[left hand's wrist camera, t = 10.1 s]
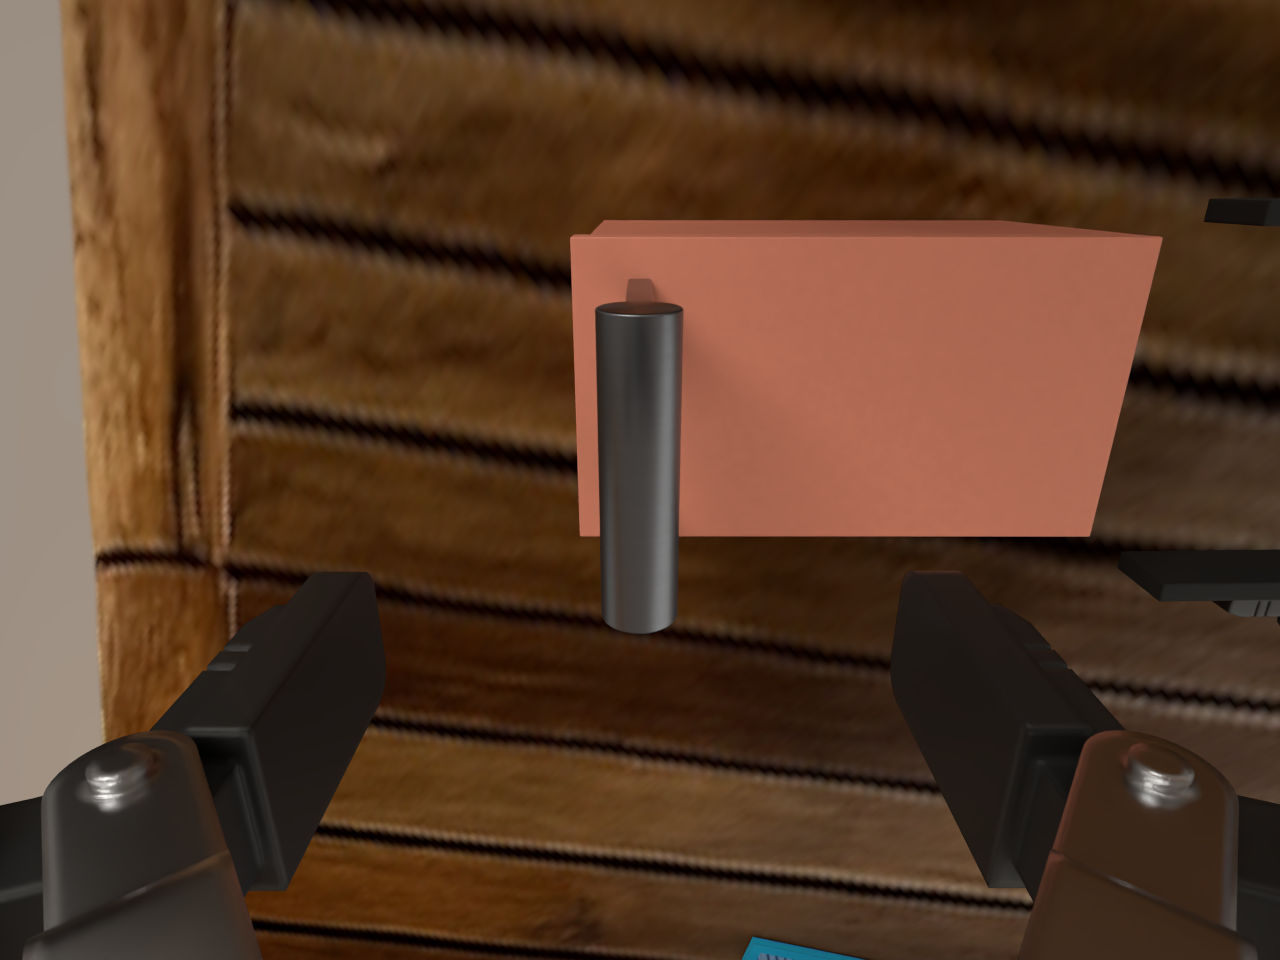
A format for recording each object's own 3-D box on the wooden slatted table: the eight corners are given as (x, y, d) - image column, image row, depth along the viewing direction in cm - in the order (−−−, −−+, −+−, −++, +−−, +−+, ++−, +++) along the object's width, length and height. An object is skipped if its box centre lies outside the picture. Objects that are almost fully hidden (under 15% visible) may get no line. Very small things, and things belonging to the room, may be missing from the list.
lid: (582, 522, 26) (557, 670, 18) (573, 234, 23) (537, 262, 15) (1072, 523, 26) (1260, 670, 18) (1139, 234, 23) (1408, 262, 15)
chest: (606, 437, 35) (595, 522, 26) (602, 220, 32) (588, 234, 23) (964, 438, 35) (1071, 522, 26) (1001, 220, 32) (1138, 234, 23)
